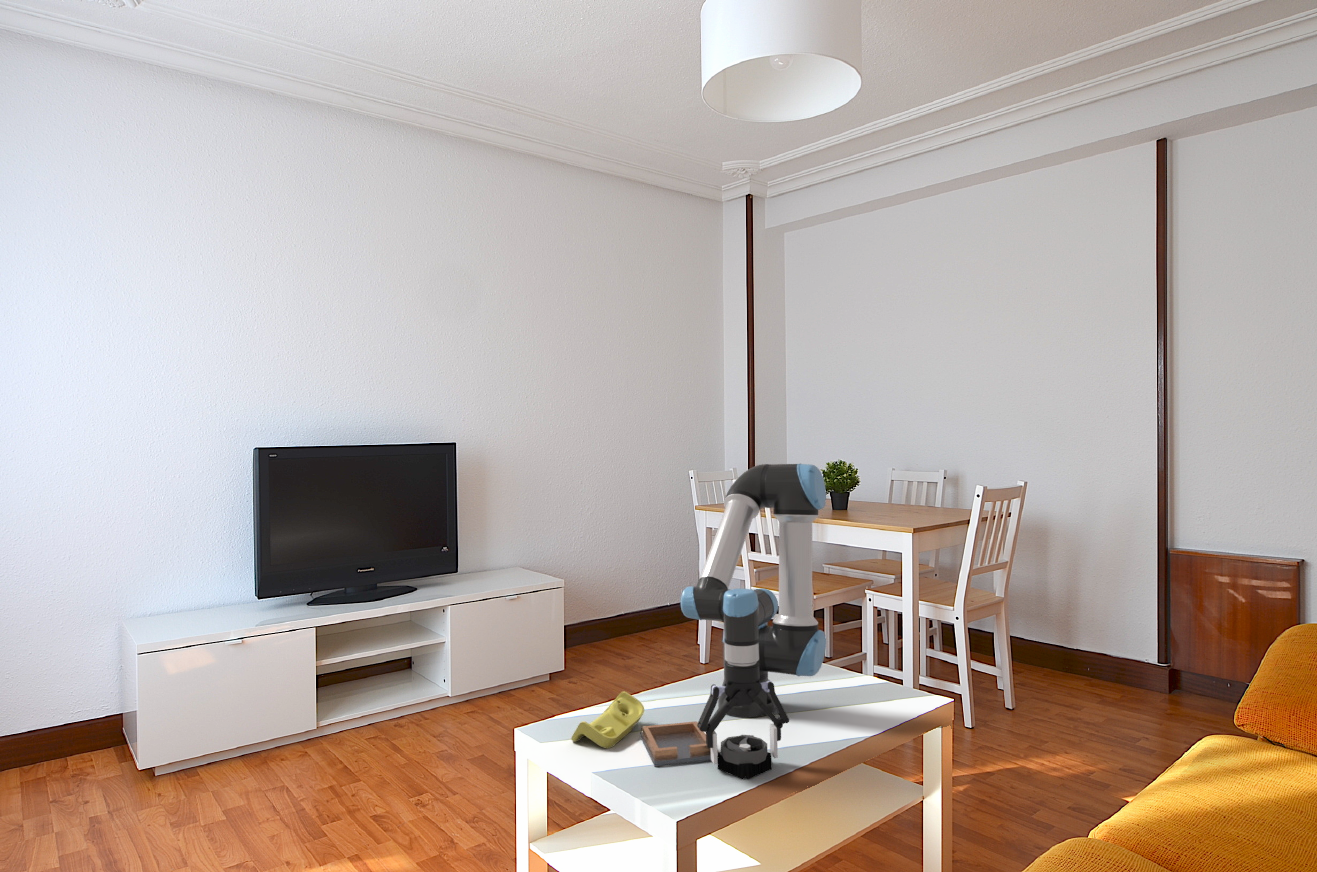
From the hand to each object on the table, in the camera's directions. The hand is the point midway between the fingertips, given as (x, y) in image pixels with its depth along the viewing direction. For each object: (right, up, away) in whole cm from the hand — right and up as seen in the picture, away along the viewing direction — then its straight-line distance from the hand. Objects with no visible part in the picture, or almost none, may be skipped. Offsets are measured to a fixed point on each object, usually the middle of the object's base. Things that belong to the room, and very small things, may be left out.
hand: (744, 758), depth 174 cm
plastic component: (-30, -3, +22) cm, 37 cm away
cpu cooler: (0, -2, -1) cm, 2 cm away
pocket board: (-14, -2, +11) cm, 19 cm away
